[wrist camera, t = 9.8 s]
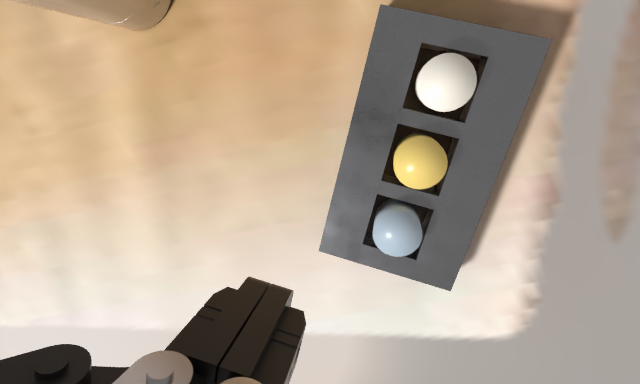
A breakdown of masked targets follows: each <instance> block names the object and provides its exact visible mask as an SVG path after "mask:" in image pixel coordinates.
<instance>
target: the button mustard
mask: <svg viewBox="0 0 640 384" xmlns="http://www.w3.org/2000/svg"><path fill="white" fill-rule="evenodd" d="M393 165H394V172H395V174H396V176H397V178H398V179H399V181H400V182H401V183H403V184H404V185H405V186H407V187H410V188H413V189H426V188H430V187H432V186H434V185H436V184H437V183H438V182H439V181H440V180H441V179H442V178H443V176H444V175H445V173H446V170H447V165H448V160H447V156H446V153H445V151H444V149H443V148H442V147H441V146H440V145H439V143H438V142H437V141H436V140H435V139H434V138H433V137H431V136H430V135H427V134H424V133H412V134H409V135H407V136H405V137H404V138H402V139H401V140H400V141H399V142H398V144H397V145H396V147H395V150H394V156H393Z"/></svg>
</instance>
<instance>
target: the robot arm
mask: <svg viewBox="0 0 640 384" xmlns="http://www.w3.org/2000/svg"><path fill="white" fill-rule="evenodd" d="M11 1H15V2H19V3H23V4H28V5H32V6H36V7H40V8H44V9H48V10H52V11H56V12H61V13H65V14H69V15H73V16H77V17H81V18H85V19H89V20H94V21H98V22H101V23H105V24H110V25H114V26H118V27H122V28H127V29H131V30H145V29H149V28H151V27H153V26H154V25H156V24H157V23H158V22H159V21H160V20H161V19H162V18H163V17H164V15H165V14H166V12H167V10H168V8H169V5H170V2H171V0H11ZM292 297H293V290H290V289H287V288H284V287H281V286H277V285H274V284H270V283H268V282H264V281H261V280H258V279H255V278H252V277H248V278H247V279H246V280H245V281H244V283H243V284H242V285H241V287H240V288H239V289H238V290H236V289H233V288H230V287H227V288H225V289H223V290H221V291H219V292H217V293H215V294H213V295H212V297H211V298H210V299H209V300H208V301H207V302H206V303H205V305H204V307H202V308H201V309H200V310H199V311H198V313H197V314H196V316H194V317H193V318H192V319H191V321H190V322H189V323H188V324H187V325H186V326H185V327H184V328H183V330H182V331H181V332H180V333H179V334H178V335H177V336H176V338H175V339H174V340H173V341H172V342H171V343H170V345H169V346H168V347H167V348H166V349H165V350H164V351H157V352H153V353H150V354H148V355H145V356H143V357H142V358H140V359H139V360H138V361H136V362H135V363H134V364H133V365H132V366H131V367H120V368H119V367H97V366H91V356H90V353H89V352H88V351H87V350H86V349H84V348H83V347H80V346H77V345H72V344H61V345H54V346H50V347H46V348H42V349H39V350H35V351H32V352H28V353H24V354H21V355H17V356H14V357H10V358H7V359H3V360H0V384H289V382H290V379H291V376H292V373H293V370H294V367H295V364H296V362H297V358H298V353H299V350H300V346H301V342H302V338H303V334H304V330H305V326H306V321H305V316H304V311H301V310H298V309H295V308H292V307H290V306H291V301H292Z"/></svg>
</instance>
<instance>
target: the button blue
mask: <svg viewBox="0 0 640 384" xmlns="http://www.w3.org/2000/svg"><path fill="white" fill-rule="evenodd" d="M373 240H374V242H375V244H376V246H377V247H378V248H379V249H380V250H381V251H382V252H384V253H385V254H387V255H390V256H395V257H402V256H406V255H409V254H411V253H413V252H414V251H415V250H416V249H417V248H418V247H419V245H420V243H421V241H422V228H421V223H420V218H419V214H418V211H417V209H416V208H415V206H414V205H413V204H411V203H408V202H404V201H400V200H397V199H390V200H387V201H385V202H384V203H382V204H381V205H380V206H379V207H378V209H377V211H376V214H375V219H374V226H373Z"/></svg>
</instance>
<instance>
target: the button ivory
mask: <svg viewBox="0 0 640 384" xmlns="http://www.w3.org/2000/svg"><path fill="white" fill-rule="evenodd" d="M476 83H477V76H476V71H475V68H474V66H473V65H472V63H471V62H470V61H469V60H468V59H467V58H465V57H464V56H462V55H460V54H456V53H444V54H440V55H438V56H436V57H434V58H432V59H431V60H430V61H428V62H427V63H426V64H425V65H424V66H423V67H422V68H421V69H420V71H419V72H418V74H417V76H416V79H415V93H416V96H417V98H418V99H419V101H420V102H421V103H422V104H423V105H425V106H426V107H428V108H430V109H433V110H436V111H440V112H448V111H453V110H456V109H458V108H460V107H461V106H463V105H464V104H465V103H467V101H468V100H469V99H470V98H471V97H472V95H473V93H474V91H475V88H476Z"/></svg>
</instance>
